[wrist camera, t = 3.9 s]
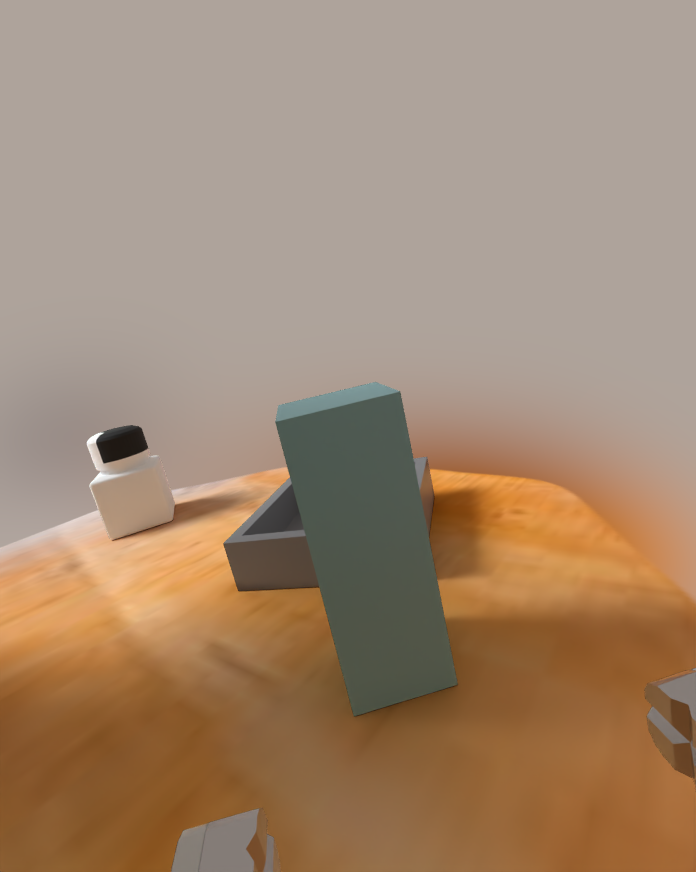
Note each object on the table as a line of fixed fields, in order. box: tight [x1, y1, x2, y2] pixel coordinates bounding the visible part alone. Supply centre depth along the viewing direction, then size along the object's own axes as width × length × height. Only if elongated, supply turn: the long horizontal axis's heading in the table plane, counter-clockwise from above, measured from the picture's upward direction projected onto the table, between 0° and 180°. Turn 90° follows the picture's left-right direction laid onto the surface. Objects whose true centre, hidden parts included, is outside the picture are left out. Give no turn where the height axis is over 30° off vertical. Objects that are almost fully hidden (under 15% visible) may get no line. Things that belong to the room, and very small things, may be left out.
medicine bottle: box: [87, 425, 175, 540], centre depth 52 cm, size 7×7×12 cm
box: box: [223, 457, 434, 591], centre depth 37 cm, size 14×14×4 cm
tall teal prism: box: [275, 382, 458, 716], centre depth 21 cm, size 5×5×14 cm
